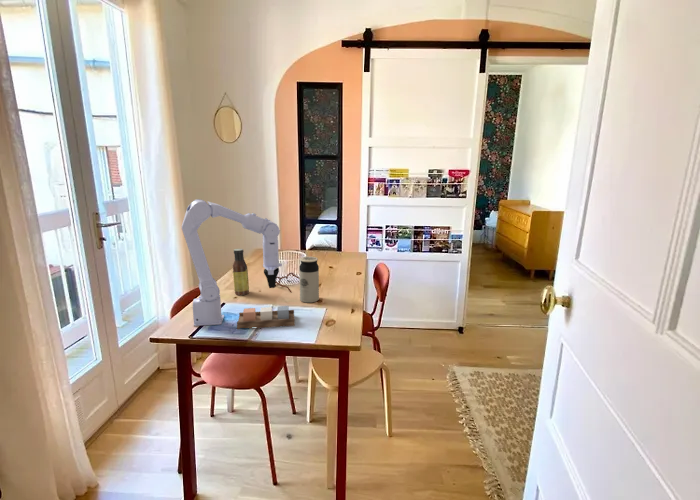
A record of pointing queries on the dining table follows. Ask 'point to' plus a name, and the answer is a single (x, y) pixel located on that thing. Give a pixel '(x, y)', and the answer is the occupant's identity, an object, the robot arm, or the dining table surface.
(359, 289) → the dining table surface
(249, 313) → the salmon pink cube
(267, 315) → the cream cube
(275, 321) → the panel
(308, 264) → the travel mug
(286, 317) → the grey cube
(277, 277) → the glasses
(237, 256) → the sauce bottle
